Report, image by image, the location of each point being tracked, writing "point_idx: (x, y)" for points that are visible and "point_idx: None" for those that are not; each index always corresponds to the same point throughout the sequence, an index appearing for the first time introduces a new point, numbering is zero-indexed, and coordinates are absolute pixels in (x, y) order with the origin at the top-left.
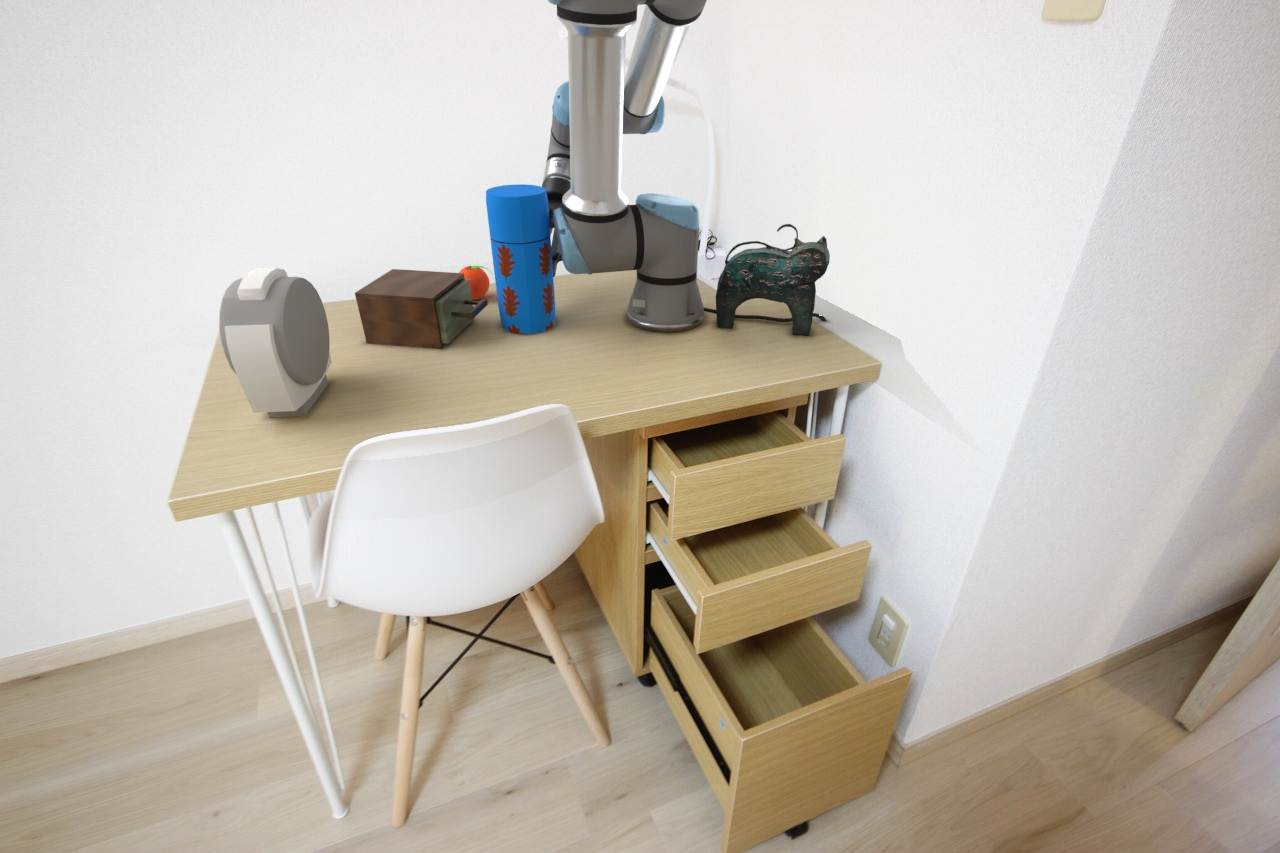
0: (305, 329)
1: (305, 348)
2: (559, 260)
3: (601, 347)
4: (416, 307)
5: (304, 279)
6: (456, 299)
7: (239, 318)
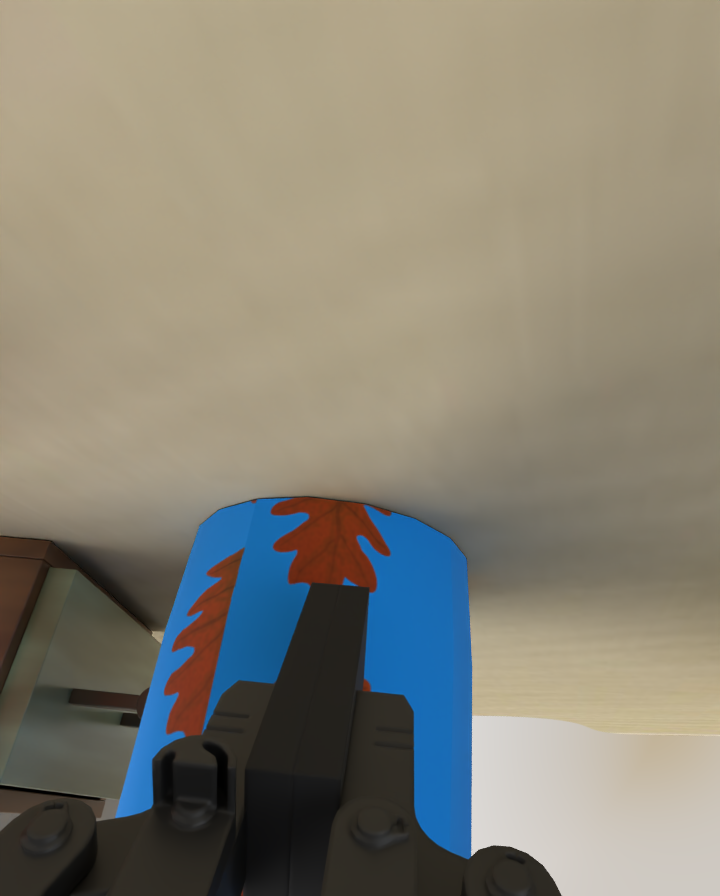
0: None
1: (102, 813)
2: (445, 873)
3: (680, 652)
4: None
5: None
6: (90, 753)
7: None
